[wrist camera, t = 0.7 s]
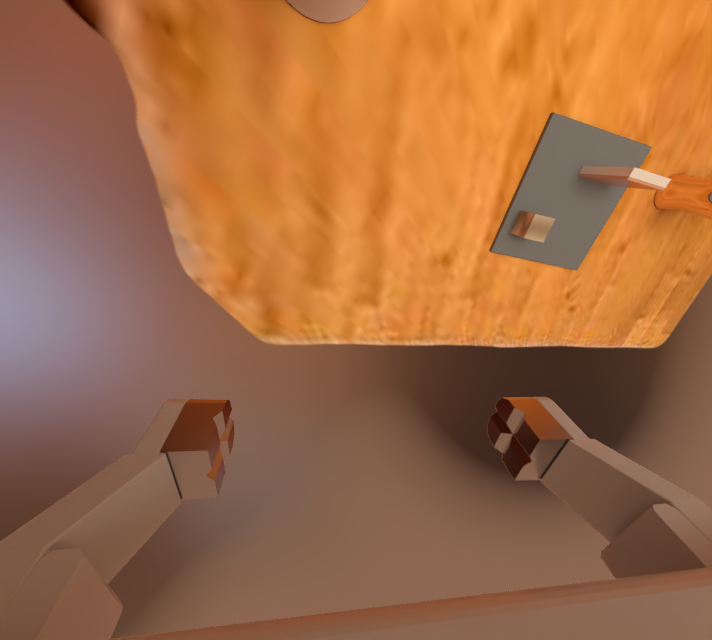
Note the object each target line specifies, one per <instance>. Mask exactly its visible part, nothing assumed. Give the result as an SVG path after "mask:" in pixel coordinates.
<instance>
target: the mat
mask: <svg viewBox="0 0 712 640" xmlns="http://www.w3.org/2000/svg"><path fill="white" fill-rule="evenodd" d="M651 148H652V147H650V146H647V145H645V144H642V143H639V142H636V141H633V140H630V139H628V138H625V137H622V136H619V135H616V134H613V133H610V132H608V131H605V130H602V129H599V128H596V127H593V126H591V125H588V124H585V123H582V122H579V121H576V120H573V119H571V118H568V117H565V116H562V115H559V114H556V113H551V115H550V117H549V119H548V121H547V124H546V126H545V128H544V130H543V133H542V135H541V137H540V139H539V141H538V144H537V146H536V148H535V150H534V153H533V155H532V157H531V159H530V162H529V164H528V166H527V168H526V171H525V173H524V175H523V177H522V179H521V182H520V184H519V186H518V188H517V191H516V193H515V195H514V197H513V200H512V202H511V204H510V206H509V209H508V211H507V213H506V215H505V217H504V220H503V222H502V224H501V226H500V229H499V231H498V233H497V235H496V238H495V240H494V242H493V244H492V247H491V249H490V251H491V252H495V253H499V254H504V255H509V256H513V257H518V258H522V259H527V260H532V261H536V262H541V263H546V264H550V265H555V266H559V267H564V268H569V269H573V270H577V269H578V268H579V266H580V264H581V263H582V261H583V259H584V258H585V256H586V255H587V253H588V251H589V250H590V248H591V246H592V245H593V243H594V241H595V240H596V238H597V236H598V235H599V233H600V232H601V230H602V228H603V227H604V225H605V223H606V222H607V220H608V218H609V217H610V215H611V214H612V212H613V210H614V209H615V207H616V205H617V204H618V202H619V200H620V199H621V197H622V195H623V194H624V192H625V191H626V189H627V187H619V186H610V185H606V184H603V183H600V182H596V181H593V180H590V179H586V178H583V177H580V176H579V174H580V172H581V170H582V168H583V166H609V167H635V168H638V169H639V168H640V166H641V164H642V163H643V161H644V159H645V158H646V156H647V154H648V153H649V151H650V150H651ZM521 210H522V211H526V212H530V213H534V214H538V215H542V216H546V217H550V218H553V219H555V221H554V223H553V225H552V227H551V229H550V231H549V232H548V234H547V236H546V238H545V240H544V242H539V241H535V240H530V239H526V238H523V237H520V236H518V235H515V234H512V233H510V232H511V230H512V228H513V226H514V224H515V221H516V219H517V217H518V215H519V213H520V211H521Z"/></svg>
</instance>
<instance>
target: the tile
mask: <svg viewBox="0 0 712 640" xmlns="http://www.w3.org/2000/svg"><path fill="white" fill-rule="evenodd" d="M579 176H580V177H583V178H586V179H590V180H593V181H596V182H600V183H603V184H606V185H610V186H619V187H629V188H639V189H649V190H660V191H664V189H665V188H666V186H667V185H668V183H669V182H670V180H671V179H669V178H666V177H663V176H660V175H657V174H654V173H651V172H648V171H644V170H641V169H638V168H635V167H609V166H583V168H582V170H581V172H580V174H579Z"/></svg>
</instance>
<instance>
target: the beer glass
mask: <svg viewBox="0 0 712 640" xmlns="http://www.w3.org/2000/svg"><path fill="white" fill-rule="evenodd" d="M669 179H671V180H670V182H669V183H668V185H667V186H666V188H665V189H664V191H660V190H658V191H657V192H656V195H655V199H654V203H655V206H656V207H657V208H658V209H661V210H684V211H688V212H691V213H694V214H697V215H700V216H703V217H706V218H709V219H712V177H708V178H701V177H694V176H690V175H686V174H676V175H674V176H672V177H670V178H669Z"/></svg>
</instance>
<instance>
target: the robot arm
mask: <svg viewBox="0 0 712 640" xmlns="http://www.w3.org/2000/svg"><path fill="white" fill-rule="evenodd" d="M287 1H288V2H289V3H290V4H291V5H292V6H293V7H294V8H295V9H296V10H297V11H299V12H300V13H301V14H303V15H305V16H306V17H308V18H310V19H313V20H316V21H319V22H326V23H331V22H338V21H342V20H344V19H347V18H349V17H350V16H352V15H353V14H355V13H356V12H357V11H358V10H360V9H361V8H362V7H363V5H364V4H365V3H366V2H367V0H287ZM495 407H496V410H497V412H496V413H494V414H493V415H492V416H490V419H489V421H488V423H487V430H488V435H489V438H490V440H491V442H492V444H493V446H494V447H495V448H496V449H498V450H499V451H501V452H502V461H503V462H504V464H505V466H506V467H507V469H508V471H509V472H510V474H511V476H512V477H513V479H514V480H541V481H540V482H542V483H543V484H544V485H545V486H546V487H548V488H549V489H550V490H551V491H552V492H553V493H554V494H555V495H557V496H558V497H559V498H560V499H561V500H562V501H564V502H565V503H566V504H567V505H568V506H569V507H570V508H571V509H573V510H574V511H575V512H576V513H577V514H578V515H579V516H581V517H582V518H583V519H584V520H585V521H586V522H587V523H589V524H590V525H591V526H592V527H593V528H594V529H595V530H597V531H598V532H599V533H600V534H601V535H602V536H604V537H605V538H606V539H607V540H608V541H609V542H610V544H609V545H608V546H607V547H606V548H605V549H603V550H602V551H601V558H602V560H603V561H604V563H605V564H606V565H607V567H608V568H609V570H610V571H611V573H612V574H613V576H614V577H615V579H607V580H597V581H589V582H581V583H573V584H564V585H556V586H548V587H539V588H531V589H524V590H515V591H506V592H498V593H490V594H481V595H473V596H465V597H457V598H448V599H440V600H431V601H423V602H415V603H407V604H398V605H391V606H382V607H373V608H366V609H357V610H349V611H340V612H332V613H324V614H316V615H307V616H299V617H290V618H282V619H274V620H266V621H257V622H249V623H241V624H232V625H225V626H216V627H207V628H199V629H191V630H183V631H175V632H167V633H158V634H149V635H141V636H134V637H124V638H117V639H110V638H111V636H112V633H113V631H114V628H115V626H116V624H117V621H118V619H119V616H120V614H121V611H122V609H123V608H122V605H121V602H120V600H119V599H118V598H117V596H116V595H115V594H114V593H113V592H112V590H111V589H110V587H109V586H108V585H107V584H108V583H109V582H110V581H111V580H112V578H113V577H114V576H115V575H116V574H117V573H118V572H119V571H120V570H121V569H122V567H123V566H124V565H125V564H126V563H127V562H128V561H129V560H130V559H131V558H132V556H133V555H134V554H135V553H136V552H137V551H138V550H139V549H140V548H141V547H142V545H143V544H144V543H145V542H146V541H147V540H148V539H149V538H150V537H151V535H152V534H153V533H154V532H155V531H156V530H157V529H158V528H159V527H160V525H161V524H162V523H163V522H164V521H165V520H166V519H167V518H168V516H170V514H171V513H172V512H173V511H174V510H175V509H176V508H177V507H178V505H179V504H180V503H181V502H182V501H181V500H186V499H198V498H209V497H218V495H219V492H220V488H221V485H222V481H223V478H224V475H225V466H224V461H225V460H226V459H227V458H228V457H229V456H230V454H231V450H232V446H233V439H234V422H233V420H232V419H231V418H229V416H230V413H231V410H232V408H231V403H230V401H229V400H210V399H209V400H208V399H207V400H206V399H189V400H185V399H169V400H168V401H166V402H165V403H164V404H163V405H162V407H161V409H160V411H159V412H158V414H157V415H156V417H155V418H154V420H153V422H152V423H151V425H150V426H149V428H148V430H147V431H146V433H145V435H144V436H143V438H142V439H141V441H140V443H139V445H138V446H137V448H136V449H135V451H134V452H133V454H126V455H124V456H122V457H121V458H120V459H118V460H117V461H115V462H114V463H112V464H111V465H110V466H108V467H107V468H105V469H104V470H102V471H101V472H100V473H98V474H97V475H95V476H94V477H92V478H91V479H90V480H88V481H87V482H85V483H84V484H83V485H81V486H79V487H78V488H77V489H75V490H74V491H72V492H71V493H70V494H68V495H67V496H65V497H64V498H62V499H61V500H59V501H58V502H56V503H55V504H54V505H52V506H51V507H49V508H48V509H46V510H45V511H44V512H42V513H41V514H39V515H38V516H36V517H35V518H34V519H32V520H31V521H29V522H28V523H26V524H25V525H23V526H22V527H21V528H19V529H18V530H17V531H15V532H13V533H12V534H11V535H9V536H8V537H6V538H5V539H3V540H2V541H0V640H712V510H711V509H710V508H709V507H708V506H707V505H705V504H704V503H703V502H702V501H701V500H700V499H698V498H696V497H694V496H693V495H691V494H689V493H688V492H685V491H684V490H682V489H680V488H679V487H677V486H675V485H673V484H671V483H670V482H668V481H666V480H665V479H663V478H661V477H659V476H658V475H656V474H654V473H652V472H651V471H649V470H647V469H645V468H644V467H642V466H640V465H638V464H637V463H635V462H633V461H631V460H630V459H628V458H626V457H624V456H623V455H621V454H619V453H617V452H616V451H614V450H612V449H610V448H609V447H607V446H605V445H603V444H602V443H600V442H598V441H596V440H595V439H589V438H588V437H587V436H586V435H585V434H584V433H583V432H582V431H581V430H580V429H579V428H578V427H577V426H576V424H574V422H573V421H572V420H571V419H570V418H569V417H568V416H567V415H566V414H565V413H564V412H563V411H562V410H561V409H560V408H559V407H558V406H557V405H556V404H555V403H554V402H553V401H552V400H551V399H549V398H547V397H531V398H530V397H515V398H501V399H500V400H498V402H497V404H496V406H495Z"/></svg>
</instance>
